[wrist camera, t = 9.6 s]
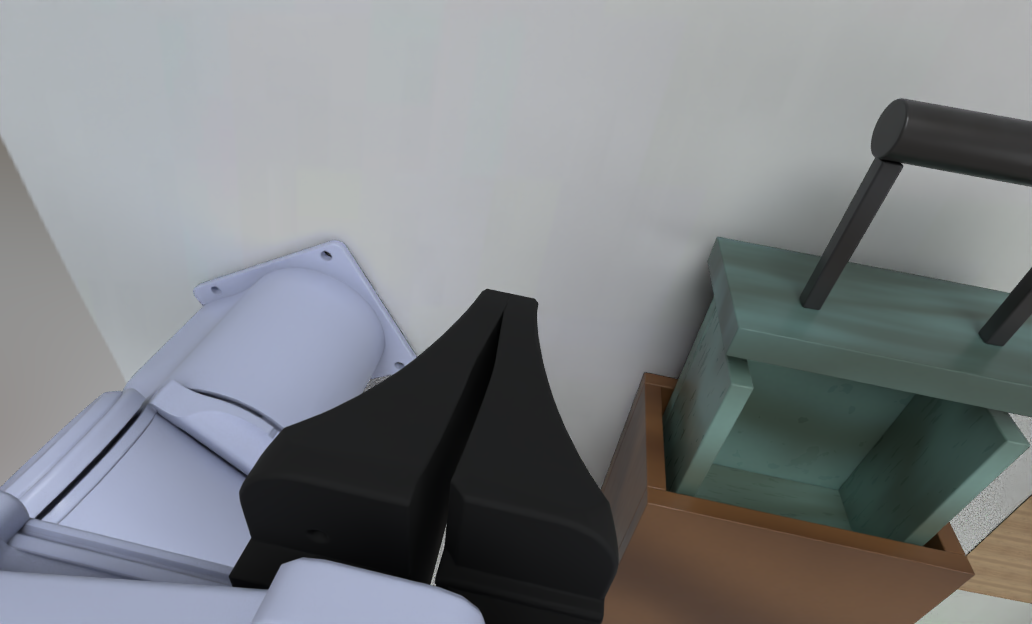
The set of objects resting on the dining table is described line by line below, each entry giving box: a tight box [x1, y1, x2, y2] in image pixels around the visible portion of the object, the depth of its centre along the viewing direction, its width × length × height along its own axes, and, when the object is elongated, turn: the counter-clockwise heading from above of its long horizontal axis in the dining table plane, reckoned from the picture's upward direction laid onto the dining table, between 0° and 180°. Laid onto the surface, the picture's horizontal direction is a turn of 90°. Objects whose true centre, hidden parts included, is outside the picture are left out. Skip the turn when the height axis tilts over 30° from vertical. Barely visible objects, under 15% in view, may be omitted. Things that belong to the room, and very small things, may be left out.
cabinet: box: [601, 373, 975, 624], centre depth 29 cm, size 14×13×8 cm
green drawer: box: [662, 98, 1032, 546], centre depth 22 cm, size 19×11×6 cm, turn 173°
